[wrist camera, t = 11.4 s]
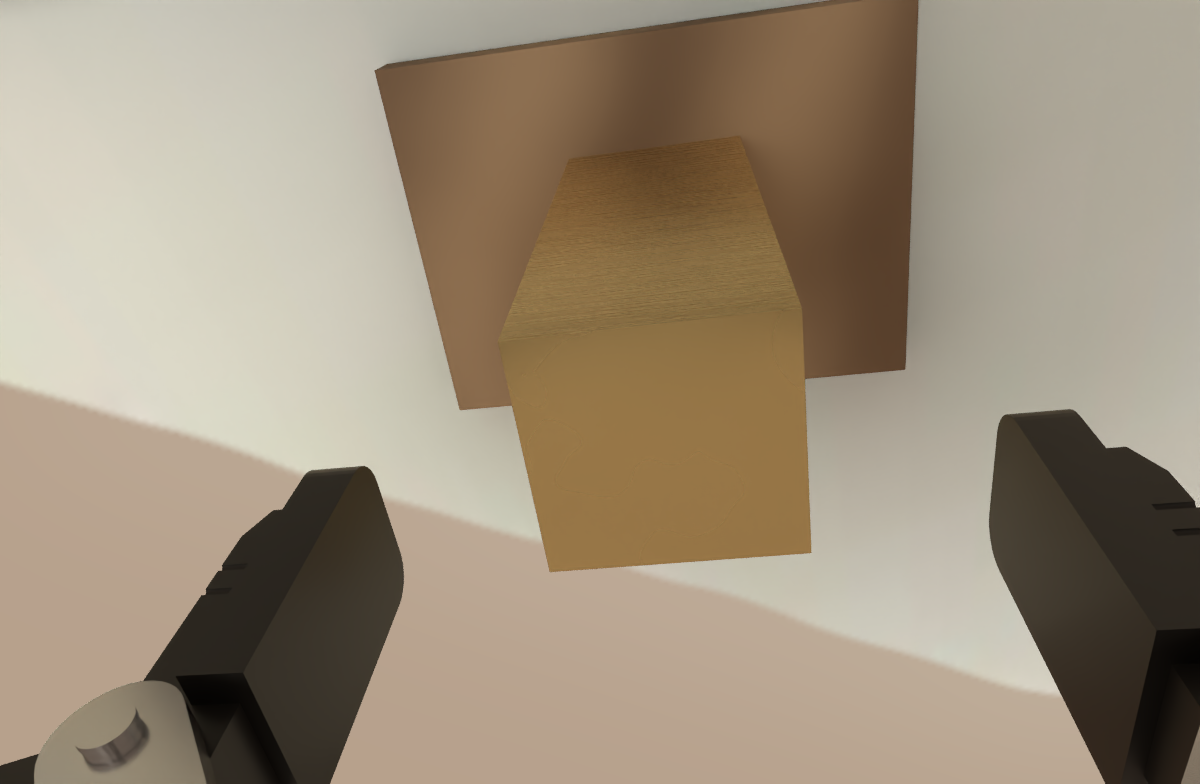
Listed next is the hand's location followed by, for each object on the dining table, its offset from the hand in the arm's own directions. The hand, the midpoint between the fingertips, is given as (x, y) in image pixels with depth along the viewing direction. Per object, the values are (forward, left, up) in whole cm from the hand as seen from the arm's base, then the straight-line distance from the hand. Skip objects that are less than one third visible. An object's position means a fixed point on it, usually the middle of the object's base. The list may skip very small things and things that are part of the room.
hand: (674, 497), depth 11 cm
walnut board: (0, 0, -12) cm, 12 cm away
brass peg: (0, 0, -11) cm, 11 cm away
